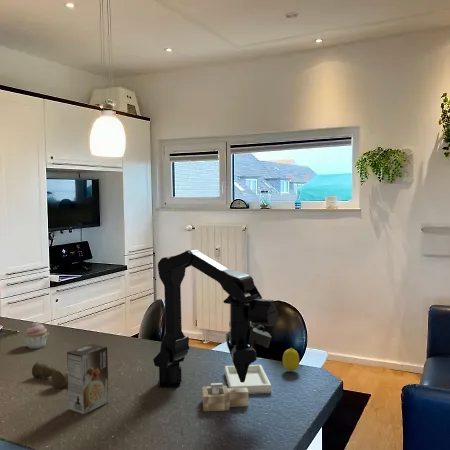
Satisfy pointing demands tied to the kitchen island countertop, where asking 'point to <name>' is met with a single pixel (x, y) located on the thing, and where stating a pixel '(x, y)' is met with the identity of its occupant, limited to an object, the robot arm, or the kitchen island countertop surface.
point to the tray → (249, 379)
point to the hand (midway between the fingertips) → (240, 375)
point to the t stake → (216, 387)
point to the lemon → (290, 359)
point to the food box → (87, 378)
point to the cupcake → (36, 336)
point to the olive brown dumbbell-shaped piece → (50, 374)
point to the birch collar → (224, 398)
